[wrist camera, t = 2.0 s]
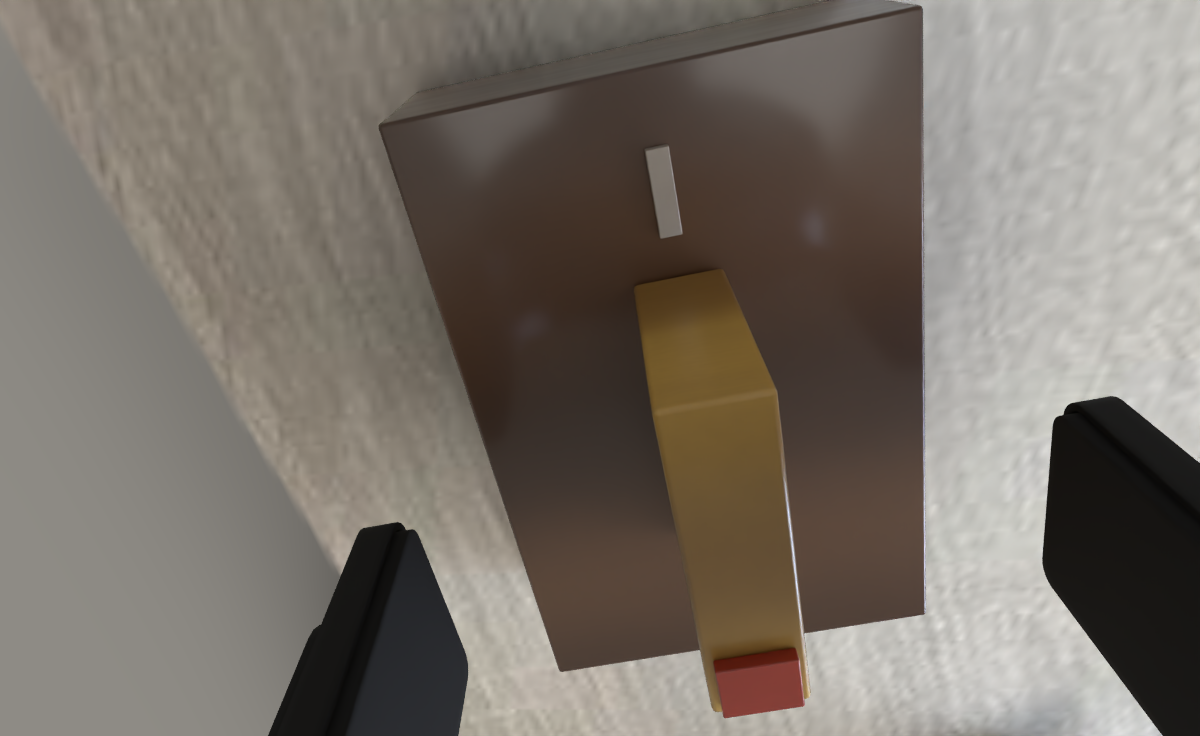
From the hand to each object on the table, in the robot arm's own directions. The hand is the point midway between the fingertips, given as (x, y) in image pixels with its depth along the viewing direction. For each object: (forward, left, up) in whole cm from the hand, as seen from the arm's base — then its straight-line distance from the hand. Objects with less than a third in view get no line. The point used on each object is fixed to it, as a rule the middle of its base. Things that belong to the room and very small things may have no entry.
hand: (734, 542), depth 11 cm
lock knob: (0, 0, -3) cm, 3 cm away
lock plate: (0, 0, -6) cm, 6 cm away
